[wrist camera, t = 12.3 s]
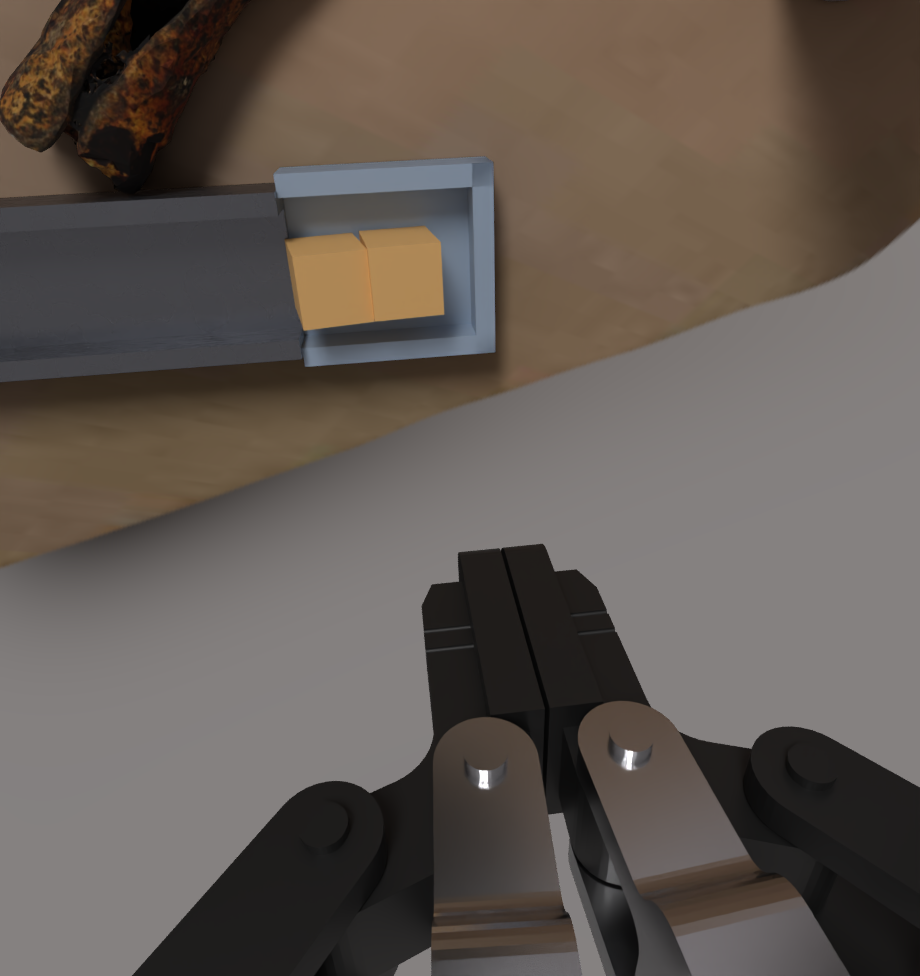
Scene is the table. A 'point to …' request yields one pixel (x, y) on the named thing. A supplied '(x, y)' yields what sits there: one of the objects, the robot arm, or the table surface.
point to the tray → (394, 204)
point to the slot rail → (144, 282)
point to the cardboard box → (404, 272)
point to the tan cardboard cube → (330, 280)
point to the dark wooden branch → (114, 79)
